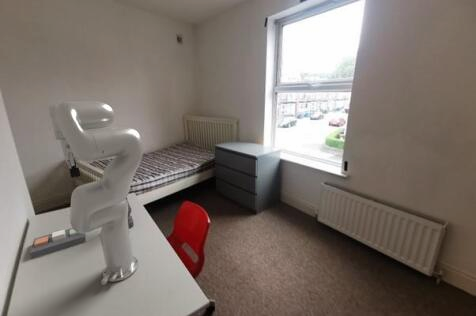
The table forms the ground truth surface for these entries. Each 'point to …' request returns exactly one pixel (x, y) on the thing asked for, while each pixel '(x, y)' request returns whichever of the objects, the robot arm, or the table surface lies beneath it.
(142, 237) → the table surface
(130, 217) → the candle holder
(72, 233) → the sage key
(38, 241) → the terracotta key
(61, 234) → the cream key
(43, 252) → the keypad
